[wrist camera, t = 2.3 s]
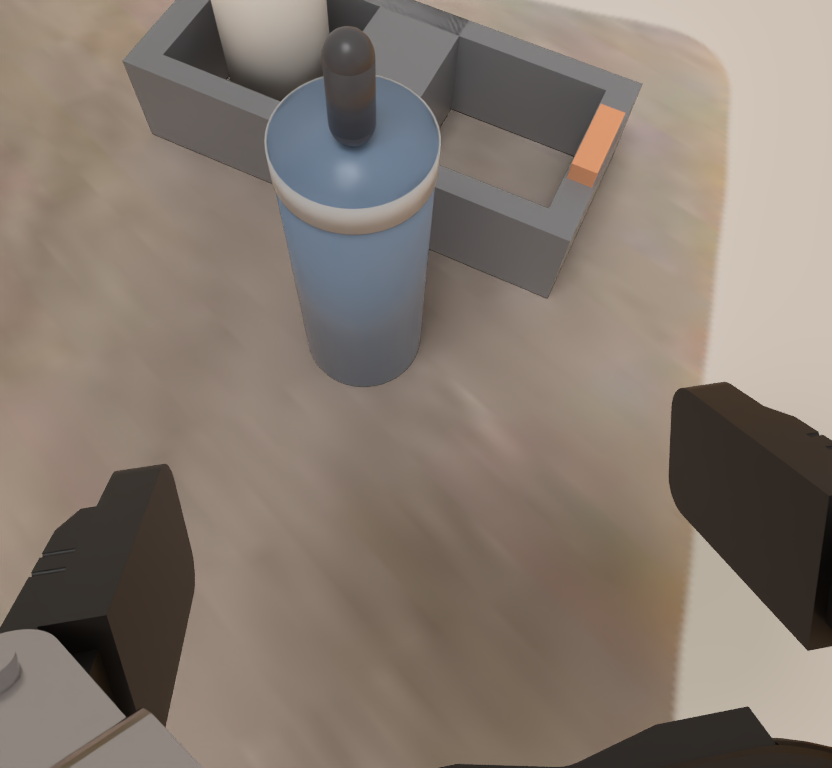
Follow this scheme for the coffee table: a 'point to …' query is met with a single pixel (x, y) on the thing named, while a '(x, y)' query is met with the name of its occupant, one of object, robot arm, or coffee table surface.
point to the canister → (356, 209)
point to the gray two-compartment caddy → (412, 67)
